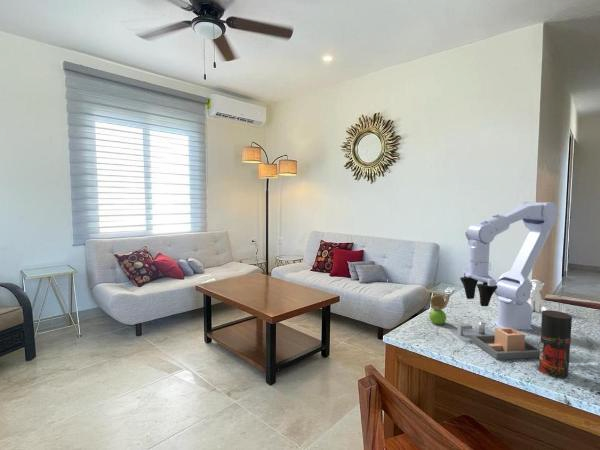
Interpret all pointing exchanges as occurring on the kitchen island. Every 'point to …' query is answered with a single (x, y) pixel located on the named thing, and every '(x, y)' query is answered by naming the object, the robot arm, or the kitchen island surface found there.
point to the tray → (484, 340)
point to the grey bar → (468, 326)
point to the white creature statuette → (536, 297)
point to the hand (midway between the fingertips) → (477, 302)
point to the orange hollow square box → (508, 340)
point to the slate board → (471, 333)
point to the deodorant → (555, 343)
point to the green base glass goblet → (438, 309)
